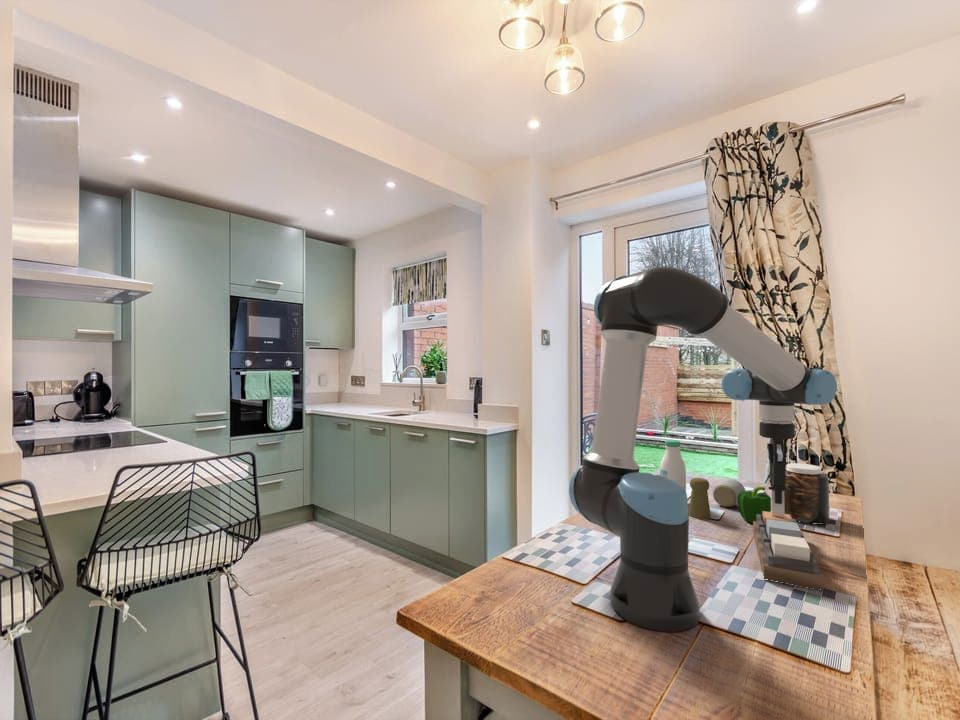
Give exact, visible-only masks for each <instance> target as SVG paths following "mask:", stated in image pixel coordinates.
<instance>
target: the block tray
mask: <svg viewBox="0 0 960 720" xmlns="http://www.w3.org/2000/svg"><path fill="white" fill-rule="evenodd" d="M792 520H793V522H794V523H797V525H798V527H799V529H800V530H801V528H800V526H799V524H798V522H796V520H795V519H792ZM752 533H753V537H754V543H755V546H756V550H757V556H758V559H759V564H760V568H761V572H762V576H764V577H763V580H764V579H768V580H773V581H778V582H783V583H788V584H793V585H797V586H796V587H798V586H801V587H800V588H803V587H808V588H807V589H809V588H814V589H821V590H824V591H825V576H824V573H823V572H822V569H821V568H820V566H819V563H818V560H817V559H816V557H815V555H814V553H813V551H812V550H811V548H810V561H803V560H797V559H791V558H785V557H779V556H774V554H773V551H772V548H771V539H770V538H768V535H767V531H766V524H763V522H762V515H759V514H757V521H753V523H752ZM801 538H805V535H804V534H803V532H801ZM805 540H806V538H805ZM806 542H807V544H808V546H809V543H808V541H807V540H806ZM809 547H810V546H809ZM793 585H792V586H793ZM814 589H813V590H814Z"/></svg>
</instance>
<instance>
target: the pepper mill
mask: <svg viewBox="0 0 960 720" xmlns="http://www.w3.org/2000/svg"><path fill="white" fill-rule="evenodd" d="M689 487H690V489H691V492H690V493H691V494H690V501H689V506H688V508H689V518H693V519H698V520H710V519H711V518H712V515H711V507H710V501H709V500H710V499H709V494H708V490H709V488H710V482H709V481H708V479H706V478H704V477H693V478H691V479H690V481H689ZM710 517H711V518H710ZM709 518H710V519H709Z"/></svg>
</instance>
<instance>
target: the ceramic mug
mask: <svg viewBox="0 0 960 720" xmlns="http://www.w3.org/2000/svg"><path fill="white" fill-rule="evenodd" d="M740 491H745V492H746V491H747V490H746V488H745V486H744V485H743V484H742V483H741V482H740V481H739V480H737V479H733V478H727V479H724V480H722V481H721V482H720V483H718V484H717V485H716V486H715V487H714V488H713V491H712V496H713V499H714V501H715V502H716V503H717V505H719V506H721V507H723V508H732V507H734V506H737V507H738V508H739V506H738V494H739V492H740Z"/></svg>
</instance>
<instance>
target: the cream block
mask: <svg viewBox="0 0 960 720" xmlns="http://www.w3.org/2000/svg"><path fill="white" fill-rule="evenodd" d="M805 539H806V537H804V538H799V537H792V536H786V535H779V534H772V533H771V548H772V551H773V554H774V556H779V557H785V558H791V559H797V560H803V561H810V549H811V548H810V546H808V545H809V543H808V541H807V540H805ZM806 541H807V542H806ZM807 543H808V544H807Z"/></svg>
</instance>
